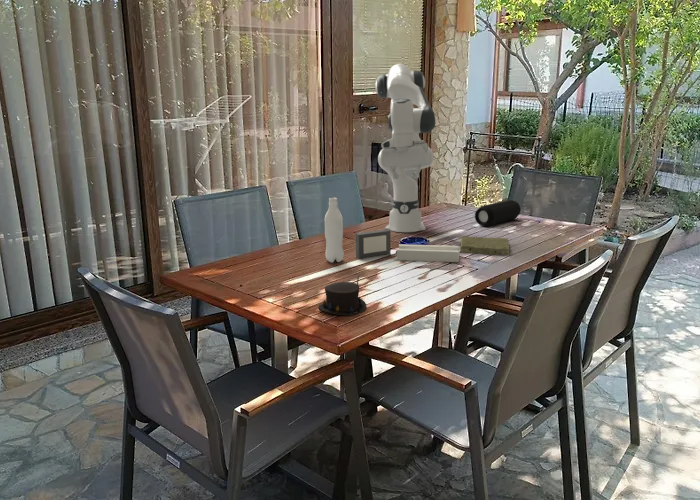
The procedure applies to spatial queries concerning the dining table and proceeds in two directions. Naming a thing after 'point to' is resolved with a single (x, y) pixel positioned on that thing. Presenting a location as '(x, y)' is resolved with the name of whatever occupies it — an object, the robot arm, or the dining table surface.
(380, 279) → the dining table surface
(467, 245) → the decorative tile
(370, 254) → the picture frame
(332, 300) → the top hat
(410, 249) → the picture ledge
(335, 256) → the water bottle
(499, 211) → the portable speaker
